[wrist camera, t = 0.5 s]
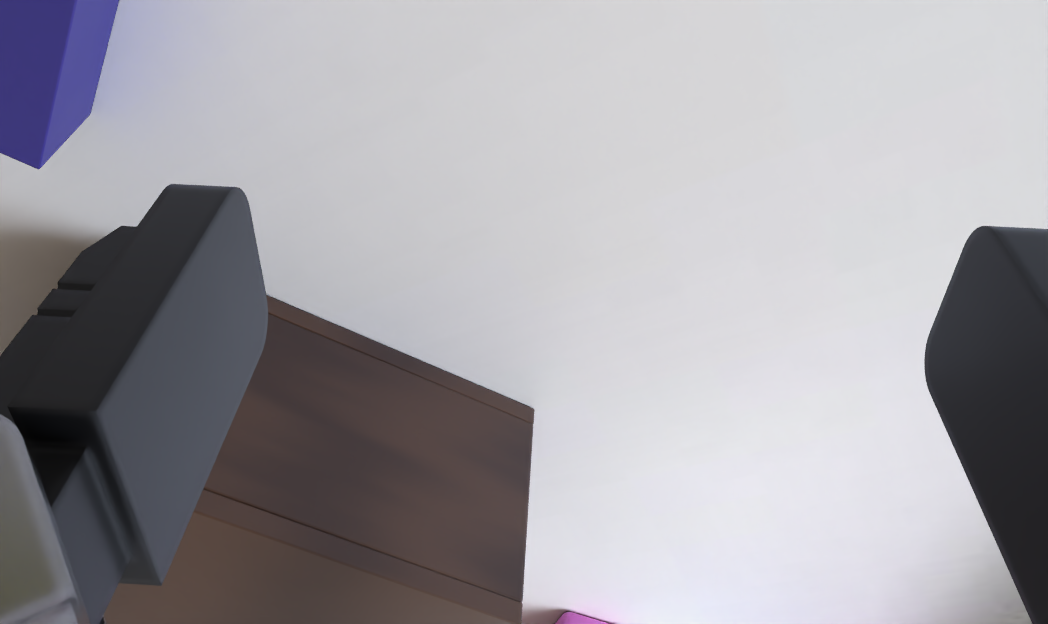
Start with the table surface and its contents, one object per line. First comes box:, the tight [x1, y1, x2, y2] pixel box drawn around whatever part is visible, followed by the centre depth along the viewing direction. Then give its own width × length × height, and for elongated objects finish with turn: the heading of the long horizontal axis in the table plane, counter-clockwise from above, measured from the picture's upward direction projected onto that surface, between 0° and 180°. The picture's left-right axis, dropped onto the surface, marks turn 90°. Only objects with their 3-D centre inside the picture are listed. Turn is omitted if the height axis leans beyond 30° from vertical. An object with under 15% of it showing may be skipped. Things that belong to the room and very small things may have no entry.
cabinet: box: [104, 295, 534, 624], centre depth 34 cm, size 16×15×10 cm
